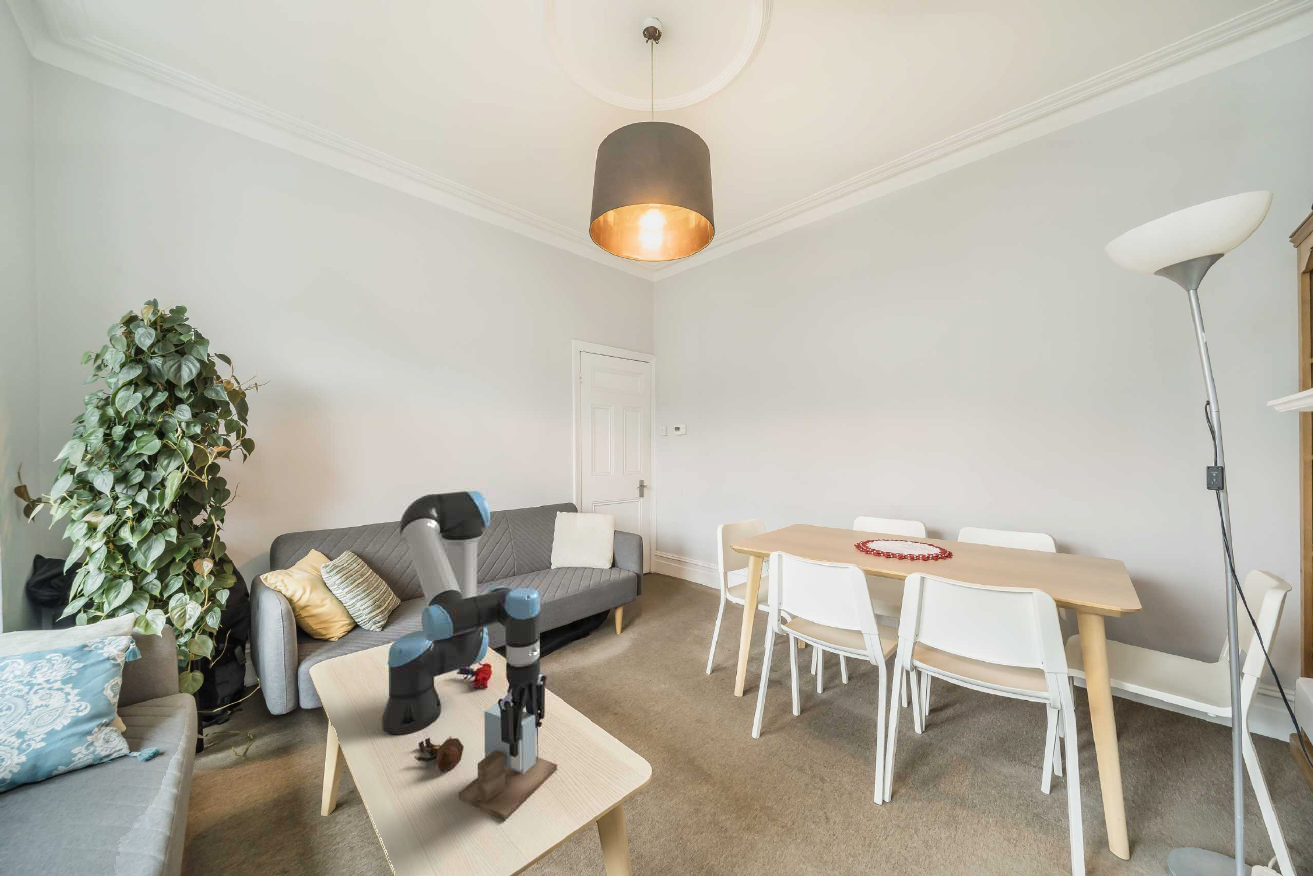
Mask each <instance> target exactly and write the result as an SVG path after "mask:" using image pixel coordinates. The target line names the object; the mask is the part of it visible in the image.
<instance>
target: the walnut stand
mask: <svg viewBox="0 0 1313 876" xmlns="http://www.w3.org/2000/svg"><path fill="white" fill-rule="evenodd" d="M557 770H558V764H556V763H554V762H552V761H549V760H546V759H544V758H541V757H539V737H538V738H537V756H536V763H535V764H534V765H533V766H532V767H531V768H529V769H528V770H527V771H526V772H525V773H524V774H522V773H520V772H517V771H515V770H513V769H510V768H508V767H506V766H505V754H504V753H502V752H499V751H497V750H494V751H493V752H492V753H490V754H489V755H488V756H486V757H485V756H484V758H482V760H480V761H478V763H477V777H476V778H475V779H474V780H472V781H471V782H470V783H469V784H467V786H465V787H463V789H461V790H460V791H458V799H460V800H462V801H463V802H467V803H468V804H470V805H472V806H474V807H476V808H478V809H480V810H482V811H484V812H486V813H487V814H490V815H492V816H494V817H496V818H498V819H499V820H502V821H504V822H506V821H507V819H509V817H511V816H512V815H513V814H514V812H516V810H517V809H519V808H520V807H521V806H522V805H523V804H524V803H525V802H526V801H527V800H528V799H529V798H530V796H532V795H533V794H534V793H535V792H536V791H537V790H538V789H539V788H540V787H541V786H542V785H543V784H544V783H545V782H546V781H547V780H548V779H549V778H550V777H551V776H552V775H553V774H554V773H556V771H557Z"/></svg>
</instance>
